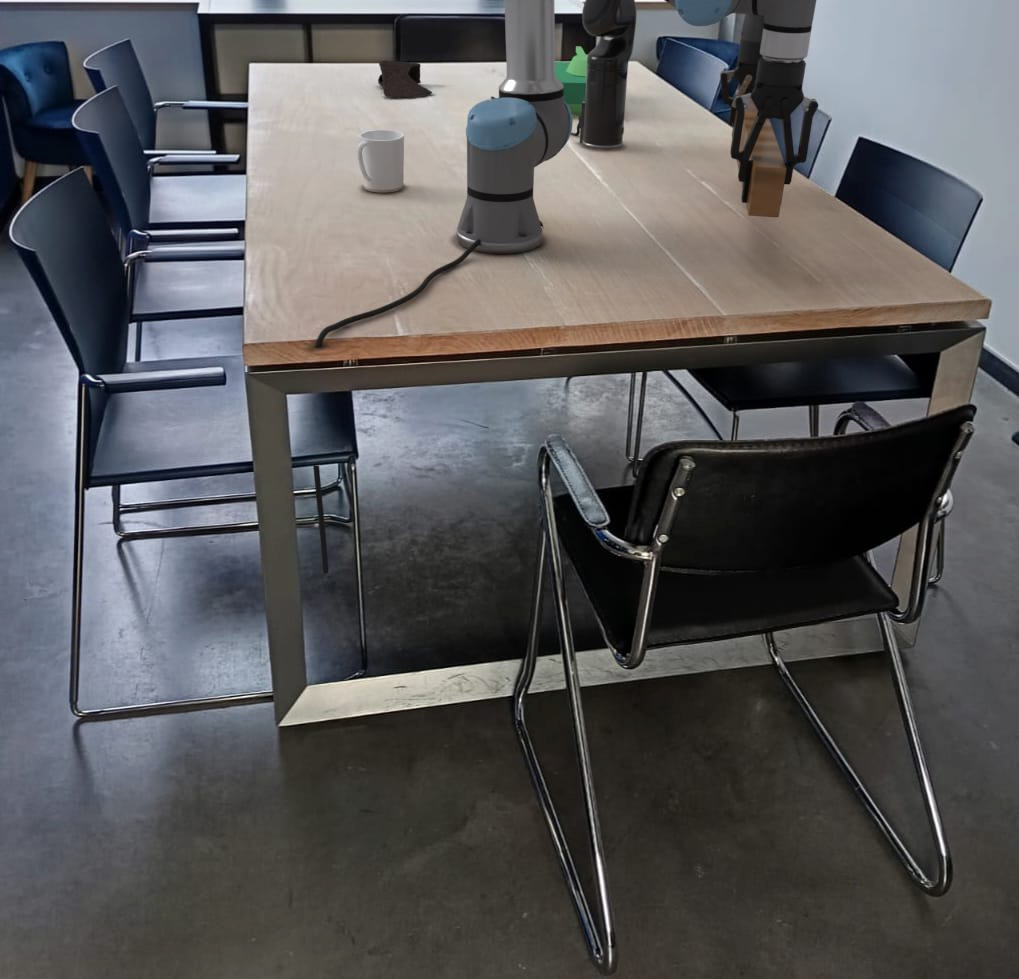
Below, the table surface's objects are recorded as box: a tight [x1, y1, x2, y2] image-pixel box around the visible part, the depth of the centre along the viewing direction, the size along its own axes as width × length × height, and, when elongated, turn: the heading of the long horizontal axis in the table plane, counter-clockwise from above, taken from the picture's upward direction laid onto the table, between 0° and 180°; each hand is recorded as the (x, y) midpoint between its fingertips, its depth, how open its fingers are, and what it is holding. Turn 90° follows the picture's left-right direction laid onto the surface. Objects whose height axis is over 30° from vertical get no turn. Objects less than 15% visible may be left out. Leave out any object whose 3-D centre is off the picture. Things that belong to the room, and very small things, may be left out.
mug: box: [356, 129, 405, 194], centre depth 219 cm, size 11×9×10 cm
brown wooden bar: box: [731, 100, 786, 218], centre depth 203 cm, size 55×5×8 cm, turn 173°
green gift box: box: [555, 45, 588, 116], centre depth 289 cm, size 18×12×35 cm
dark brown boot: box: [377, 59, 433, 99], centre depth 299 cm, size 18×8×15 cm
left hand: (761, 201), depth 187 cm, fingers closed on brown wooden bar, 5 cm apart
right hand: (747, 126), depth 221 cm, fingers closed on brown wooden bar, 5 cm apart
